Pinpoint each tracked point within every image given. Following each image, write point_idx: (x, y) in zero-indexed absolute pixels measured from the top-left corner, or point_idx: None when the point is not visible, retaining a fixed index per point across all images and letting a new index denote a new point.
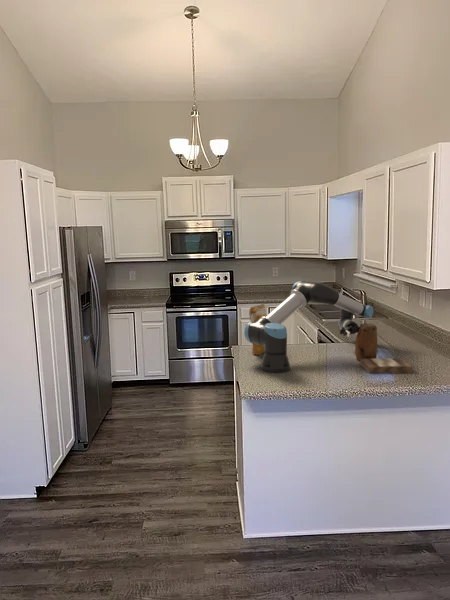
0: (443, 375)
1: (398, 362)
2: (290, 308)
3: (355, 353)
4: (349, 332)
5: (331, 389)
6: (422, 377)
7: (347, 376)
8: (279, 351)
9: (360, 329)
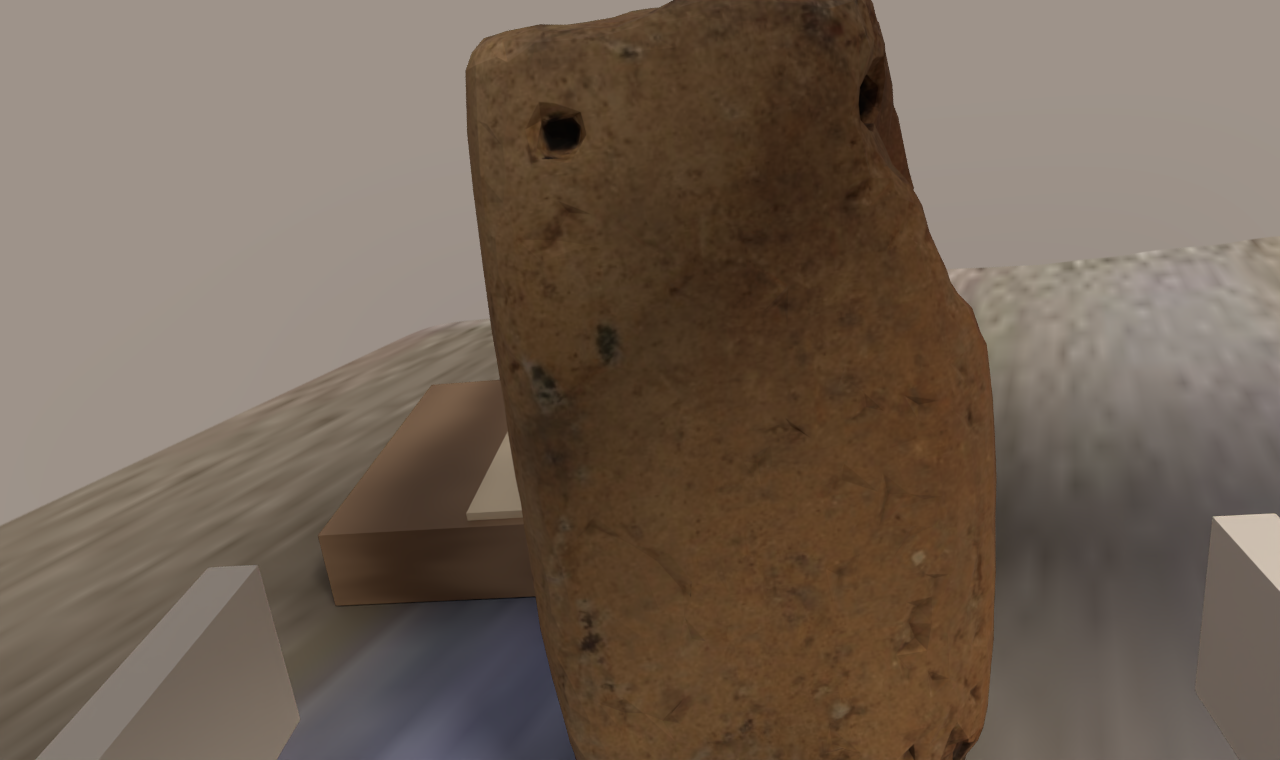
0: (252, 411)
1: (478, 440)
2: None
3: (987, 696)
4: (1252, 540)
5: (1214, 252)
6: (454, 382)
7: (1110, 360)
8: None
9: (874, 130)
